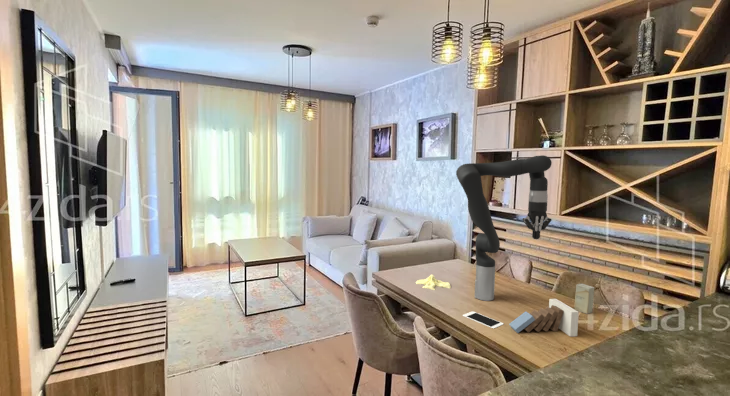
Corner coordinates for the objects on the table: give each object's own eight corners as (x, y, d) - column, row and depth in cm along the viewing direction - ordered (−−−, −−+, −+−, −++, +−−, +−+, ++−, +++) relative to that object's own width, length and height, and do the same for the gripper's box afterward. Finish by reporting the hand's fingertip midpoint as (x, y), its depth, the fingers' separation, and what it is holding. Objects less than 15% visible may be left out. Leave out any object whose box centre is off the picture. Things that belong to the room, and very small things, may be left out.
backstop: (570, 336, 139) (571, 312, 138) (548, 321, 153) (549, 298, 152) (577, 336, 139) (578, 311, 138) (554, 320, 153) (555, 298, 152)
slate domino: (515, 329, 141) (532, 316, 141) (508, 324, 146) (525, 311, 146) (517, 333, 141) (535, 319, 142) (511, 327, 146) (528, 314, 146)
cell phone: (472, 312, 162) (472, 311, 162) (504, 324, 150) (504, 323, 150) (462, 316, 158) (462, 315, 158) (493, 329, 145) (493, 328, 145)
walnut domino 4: (552, 330, 143) (559, 309, 142) (545, 324, 148) (551, 304, 147) (557, 331, 143) (563, 310, 142) (549, 325, 148) (555, 306, 147)
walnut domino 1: (525, 329, 141) (541, 314, 141) (518, 324, 146) (534, 309, 146) (528, 332, 142) (544, 317, 142) (521, 327, 147) (537, 312, 147)
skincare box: (573, 309, 165) (575, 284, 164) (579, 307, 167) (580, 282, 166) (587, 314, 160) (589, 288, 159) (593, 312, 162) (594, 287, 161)
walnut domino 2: (535, 329, 142) (548, 312, 142) (528, 324, 147) (541, 307, 147) (538, 332, 142) (552, 314, 142) (531, 326, 147) (544, 309, 147)
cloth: (457, 287, 196) (457, 277, 195) (430, 293, 187) (431, 282, 187) (432, 276, 215) (432, 267, 215) (407, 281, 207) (407, 271, 206)
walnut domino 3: (543, 329, 142) (554, 310, 142) (536, 324, 147) (546, 306, 147) (547, 331, 142) (558, 313, 142) (539, 326, 147) (550, 308, 147)
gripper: (528, 201, 151) (526, 241, 152) (557, 201, 152) (555, 240, 154) (519, 199, 158) (517, 237, 160) (546, 199, 159) (544, 237, 161)
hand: (536, 238), depth 157 cm, fingers closed
